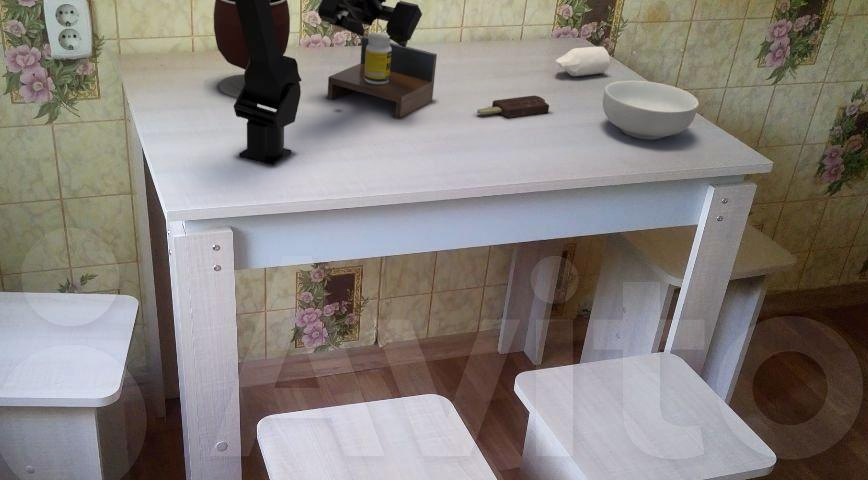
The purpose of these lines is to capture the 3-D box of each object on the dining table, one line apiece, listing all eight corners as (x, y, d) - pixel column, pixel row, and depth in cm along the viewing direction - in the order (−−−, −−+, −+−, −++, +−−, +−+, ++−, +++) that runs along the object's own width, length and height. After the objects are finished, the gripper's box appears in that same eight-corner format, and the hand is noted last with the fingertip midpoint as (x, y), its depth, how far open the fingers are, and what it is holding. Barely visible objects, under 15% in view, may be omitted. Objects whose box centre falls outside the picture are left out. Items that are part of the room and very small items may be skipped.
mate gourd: (261, 106, 180) (261, -7, 168) (200, 89, 185) (196, -22, 174) (307, 84, 191) (310, -23, 180) (248, 69, 196) (248, -37, 185)
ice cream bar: (485, 121, 180) (551, 112, 186) (486, 112, 179) (553, 104, 185) (470, 111, 184) (535, 103, 190) (471, 103, 183) (537, 94, 189)
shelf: (399, 118, 179) (403, 69, 174) (327, 97, 186) (329, 49, 181) (432, 101, 187) (437, 54, 182) (362, 81, 194) (364, 35, 189)
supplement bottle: (389, 86, 181) (393, 40, 176) (363, 84, 181) (366, 38, 176) (389, 77, 185) (392, 32, 180) (364, 75, 185) (366, 30, 180)
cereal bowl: (705, 149, 175) (715, 111, 171) (617, 150, 173) (625, 111, 169) (666, 115, 189) (675, 78, 185) (584, 115, 186) (591, 78, 182)
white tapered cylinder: (544, 73, 205) (548, 46, 202) (589, 68, 210) (594, 41, 207) (562, 83, 201) (567, 55, 198) (607, 77, 206) (612, 50, 203)
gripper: (421, -44, 163) (446, 11, 177) (329, -63, 171) (360, -9, 185) (393, 14, 162) (421, 65, 176) (301, -8, 170) (334, 43, 184)
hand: (384, 39), depth 180 cm, fingers open, 9 cm apart
